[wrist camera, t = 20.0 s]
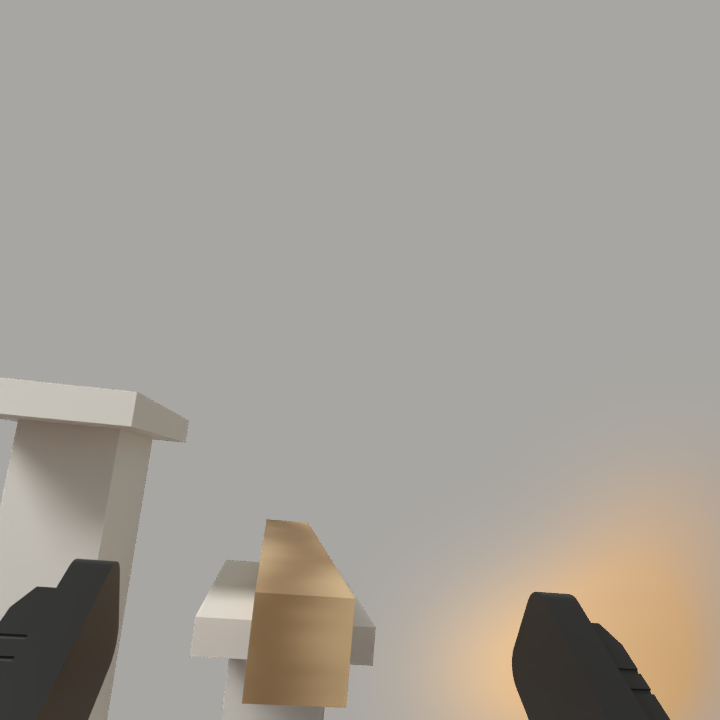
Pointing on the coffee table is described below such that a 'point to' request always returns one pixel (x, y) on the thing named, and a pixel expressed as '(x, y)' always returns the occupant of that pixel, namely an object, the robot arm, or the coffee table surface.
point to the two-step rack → (115, 520)
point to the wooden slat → (298, 623)
